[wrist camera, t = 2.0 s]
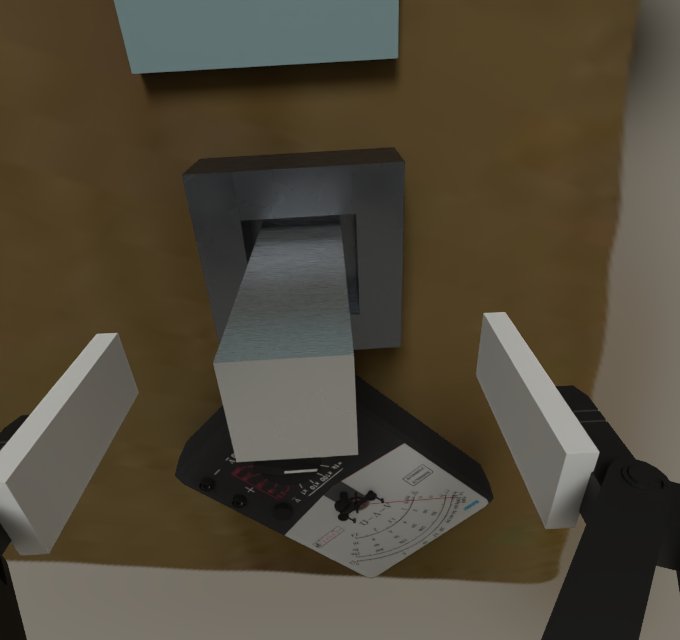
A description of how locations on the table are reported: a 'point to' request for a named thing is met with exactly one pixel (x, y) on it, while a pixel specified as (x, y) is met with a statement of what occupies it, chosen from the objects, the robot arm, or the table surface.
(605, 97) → the table surface
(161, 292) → the table surface
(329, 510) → the multimeter
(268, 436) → the long steel block
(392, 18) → the slate mat
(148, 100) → the table surface
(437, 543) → the table surface
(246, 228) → the socket block
